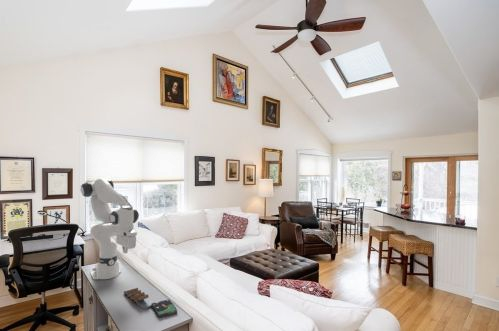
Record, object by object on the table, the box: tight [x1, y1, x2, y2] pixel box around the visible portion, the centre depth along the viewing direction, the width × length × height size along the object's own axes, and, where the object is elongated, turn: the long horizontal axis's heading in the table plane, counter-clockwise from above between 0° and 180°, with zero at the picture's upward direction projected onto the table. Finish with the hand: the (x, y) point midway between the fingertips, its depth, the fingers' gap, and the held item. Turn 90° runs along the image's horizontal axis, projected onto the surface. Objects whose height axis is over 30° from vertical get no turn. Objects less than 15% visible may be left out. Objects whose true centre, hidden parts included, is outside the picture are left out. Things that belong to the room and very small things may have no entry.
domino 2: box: [126, 289, 142, 298], centre depth 161 cm, size 2×5×10 cm
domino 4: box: [133, 294, 149, 303], centre depth 153 cm, size 2×5×10 cm
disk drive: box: [151, 299, 178, 319], centre depth 147 cm, size 10×3×15 cm
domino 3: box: [129, 291, 146, 301], centre depth 157 cm, size 2×5×10 cm
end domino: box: [136, 298, 153, 310], centre depth 153 cm, size 2×5×10 cm
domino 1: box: [123, 287, 139, 295], centre depth 164 cm, size 2×5×10 cm
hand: (125, 252), depth 172 cm, fingers closed
